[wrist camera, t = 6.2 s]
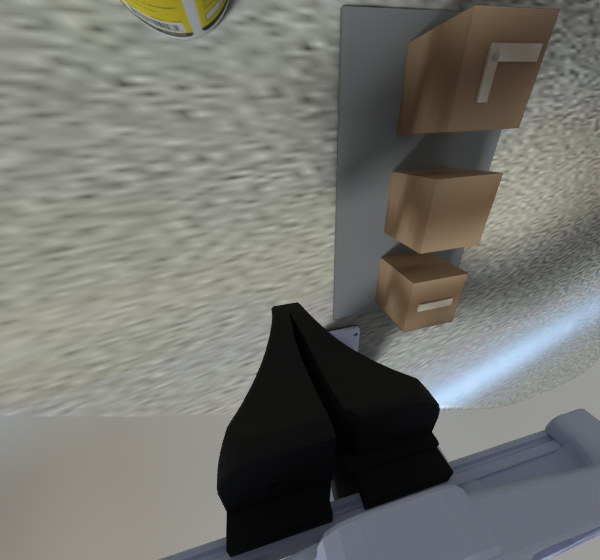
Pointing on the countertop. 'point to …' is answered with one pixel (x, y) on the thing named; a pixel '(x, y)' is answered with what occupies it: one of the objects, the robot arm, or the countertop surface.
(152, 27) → the pill bottle
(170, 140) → the countertop surface
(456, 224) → the plain block
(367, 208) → the mat
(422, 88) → the digit block 7
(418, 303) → the digit block 1
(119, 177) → the countertop surface
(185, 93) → the countertop surface
